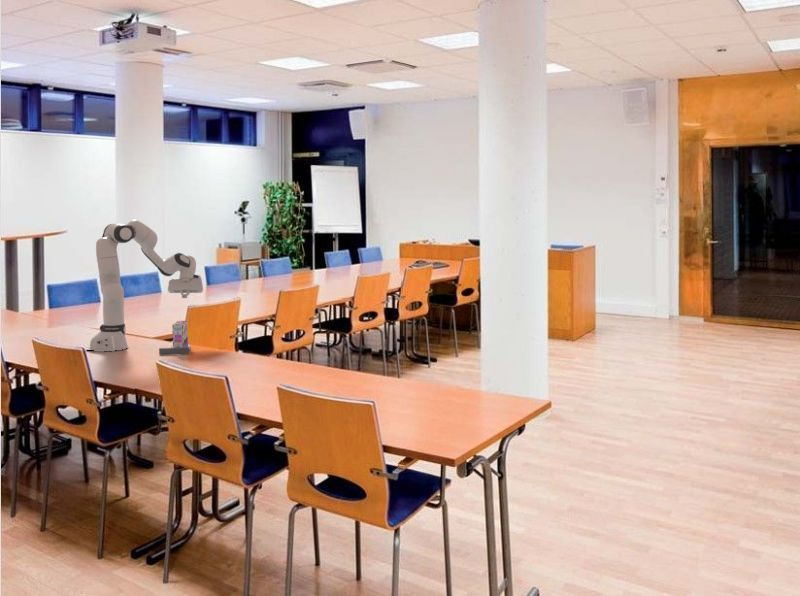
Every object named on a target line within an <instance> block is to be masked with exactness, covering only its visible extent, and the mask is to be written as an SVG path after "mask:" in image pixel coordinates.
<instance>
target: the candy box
mask: <svg viewBox="0 0 800 596" xmlns="http://www.w3.org/2000/svg"><path fill="white" fill-rule="evenodd" d="M172 345H173V348H187V347H188V346H189V334H188V321H187V320H177V321H175V322H174V324H172Z"/></svg>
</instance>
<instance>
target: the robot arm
mask: <svg viewBox="0 0 800 596" xmlns="http://www.w3.org/2000/svg"><path fill="white" fill-rule="evenodd" d="M132 240H133V241H135V242H136V244H138V245H139V246H140V249H141V252H142V253H143V255H144V256H145V257H146V258H147V259H148V260H149V262H151V263H152V264H153V265H154V266H155V267H156V268H157V270H158V271H159V272H160V274H161V275H163V276H165V277H171V276H173V275H175V273H177V272H179V277H178V278H177V279H174V278H172V279H170V280H169V281H168V286H167V291H168V293H170V294H180V295H181V299H187V298H188V297H189V295H190V294H197V293H198V294H200V293H203V292H204V285H203V279H202V277H201V275H198V274H195V273H196V271H197V261H196V259H195V257H194V256H193V255H192V256H191V255H186V254H184V253H181V252H175V253H174V254H172V255H171V256H169V257H167V258H165V259H164V258H162V257H161V256H160V255H159V254H158V253H157V252H156V251H155V247H156V245H157V244H158V243H157V242H158V235H157V233H156V232H155V231H154V230H153V229H151V228H150V227H149V226H147V225H146V224H145V223H143V222H142V221H140V220H138V219H132V220H130V221H129V222H128V223H127V224H126V223H111V224H107V225H106V226H105V228H104V229H103V234H102V236H101V237H100V238H98V239H97V240H96V242H95V253H96V261H97V262H96V263H97V267H98V268H97V269H98V277H99V284H100V291H101V294H102V317H103V318H102V319H103V323H102V324H101V325H100V326H99V330H100V331H99V332H98V333H96V334H95V335H94V336H93V337H92V338H91V339H90V341H89V346H87V347H86V348H88V349H87V350H94V351H93V352H104V351H112V352H116V351H115V350H117V351H122V349H123V350H127V349H128V348H129V345H128V342H127V337H126V323H125V313H124V312H125V309H124V307H125V289H124V287H123V286H122V282H121V273H120V271H121V270H120V263H119V257H118V251H117V249H118V248H117V247H118V245H119V244H126V243H129V242H130V241H132ZM126 348H127V349H126Z"/></svg>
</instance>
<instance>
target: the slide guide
mask: <svg viewBox="0 0 800 596" xmlns="http://www.w3.org/2000/svg"><path fill="white" fill-rule="evenodd" d="M191 348H192V345H191V344H188V347H187V348H173V344H172V345H170V346H169V347H159V348H158V351H159V352H158V355H159V354H183V355H190V354H191V353H190V349H191ZM189 353H190V354H189Z"/></svg>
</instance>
